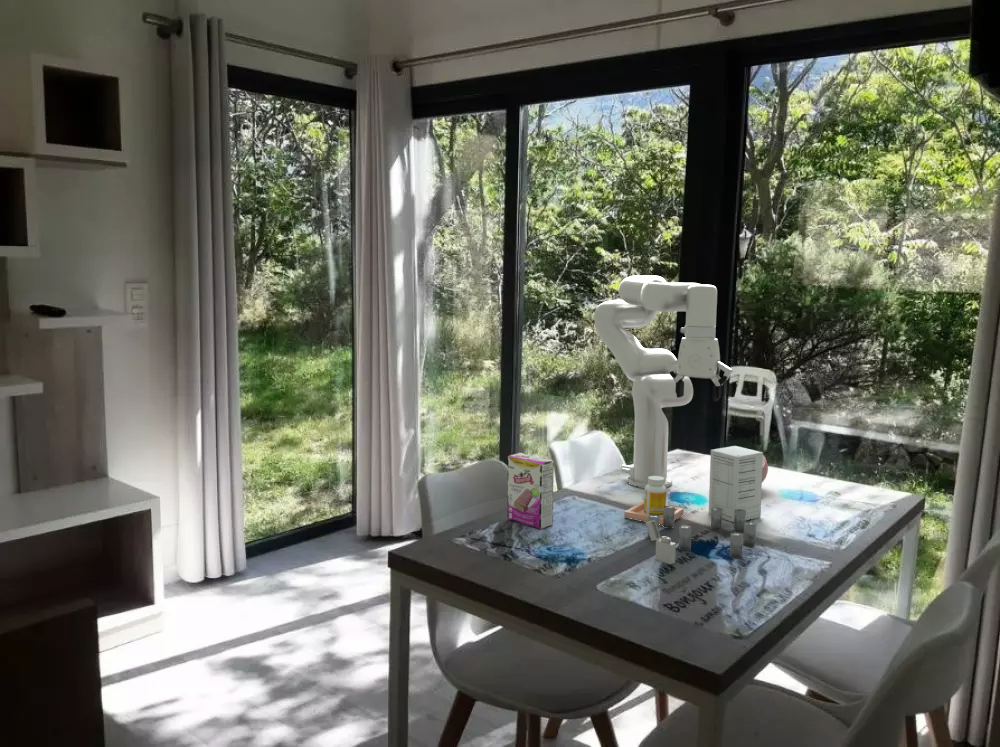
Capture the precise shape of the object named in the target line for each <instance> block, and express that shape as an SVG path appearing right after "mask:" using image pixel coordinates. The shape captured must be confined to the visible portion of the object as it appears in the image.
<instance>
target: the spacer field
mask: <svg viewBox="0 0 1000 747" xmlns="http://www.w3.org/2000/svg"><path fill="white" fill-rule="evenodd" d="M675 507H676V506H674V505H671V504H669V505H667V504H666V506H664V514H663V526H664V527H668V528H672V527H674V528H675V521H674V514H675ZM745 519H746V511H745V510H742V509H736V510H735V511H734V522H733V532H731V533H730V541H729V557H730V558H731V559H736V560H737V559H742V558H743V549H744V548H743V547H744V545H745V547H748V546H749V547H750V548H753V546H754V547H756V537H757V536H756V535H757V534H756V533H757V523H756V522H754V521H753V522H752V521H745ZM652 520H655V522H656V525H657V528H658V531H659V532H660V526H659V516H658V515H648V522H649V521H652ZM663 526H662V527H663ZM664 527H663V528H664ZM709 527H710V530H711V531H715V532H721V531H722V528H723V518H722V509H721V508H711V514H710V526H709ZM668 528H667V529H668ZM678 528H679V530H678V549H679V550H681V551H683V552H686V551H687V552H688V551H691V548H692V547H691V546H692V527H691V526H690V525H687V524H686V525H679V527H678ZM672 529H673V528H672ZM646 532H647V533H646V534H647V535H646V536H648V537H649V538H648V537H647V538H648V539H650V535H649V532H648V530H647V531H646ZM743 532H744V533H743Z"/></svg>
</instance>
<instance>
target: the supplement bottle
mask: <svg viewBox="0 0 1000 747" xmlns="http://www.w3.org/2000/svg"><path fill="white" fill-rule="evenodd" d="M648 483H649V484H648V485H646V486H645V488H644V500H643V501H644V514H646V515H658V516H659V517H663V514H664V506H666V505H667V487H665V486H664V485H663V484H664V478H663V477H661V476H649V477H648Z"/></svg>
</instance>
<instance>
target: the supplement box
mask: <svg viewBox="0 0 1000 747" xmlns="http://www.w3.org/2000/svg"><path fill="white" fill-rule="evenodd" d="M763 455H764V452H763V451H759V450H754V449H749V448H746V447H742V446H737V445H731V446H726V447H720V448H719V447H718V448H715V449H714V448H713V449H710V460H709V462H710V463H709V464H710V465H709V495H708V497H709V498H708V514H709V515H711V508H721V509H722V520H726V521H729V522H732V523H734V511H735V510H736V509H742V510H745V511H746V519H745V522H747V521H750V519H751V520H754V519H759V518H761V514H762V513H761V512H762V510H761V509H762V490H763V489H762V486H763V485H762V484H763V482H762V465H763Z"/></svg>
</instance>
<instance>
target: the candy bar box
mask: <svg viewBox="0 0 1000 747" xmlns="http://www.w3.org/2000/svg"><path fill="white" fill-rule="evenodd" d="M554 462H555V461H554V460H552V459H547V458H544V457H539V456H536V455H531V454H527V453H523V452H518V453H513V454H510V455H508V456H507V509H506V510H507V514H506V516H507V520H509V521H512V522H516V523H519V524H522V525H526V526H529V527H532V528H535V529H538V530H543V529H547V528H549V527H552V526H554V524H553V522H554V521H553V520H554V475H555V474H554V473H555V472H554V466H555V464H554Z"/></svg>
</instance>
